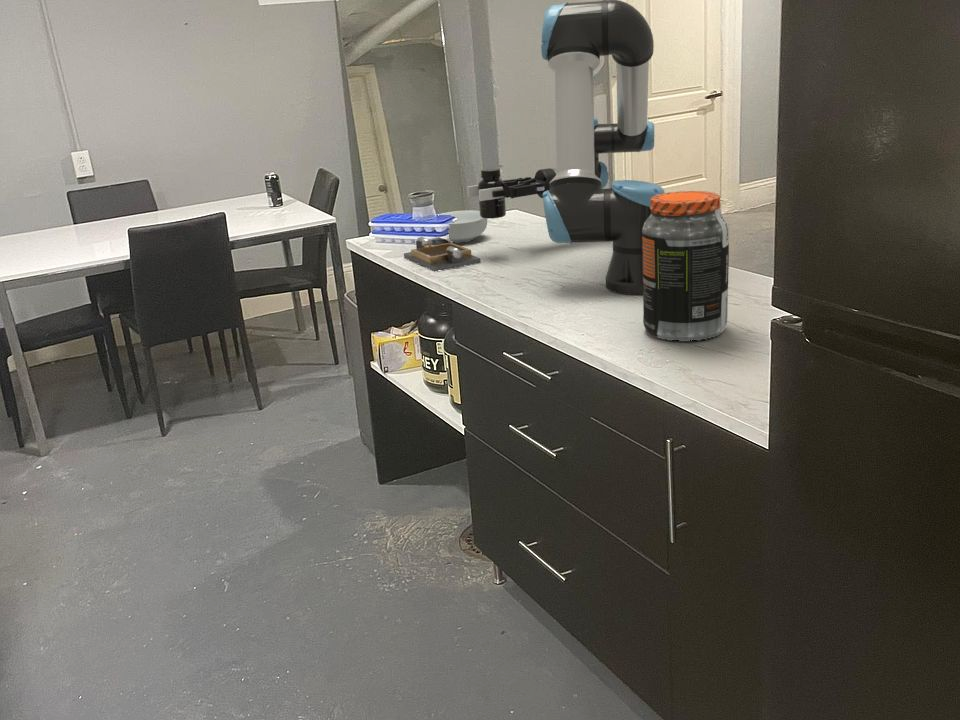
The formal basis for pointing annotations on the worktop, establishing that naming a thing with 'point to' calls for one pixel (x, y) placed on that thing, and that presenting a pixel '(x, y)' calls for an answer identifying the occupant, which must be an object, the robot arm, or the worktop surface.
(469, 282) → the worktop surface
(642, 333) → the worktop surface
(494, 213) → the supplement bottle
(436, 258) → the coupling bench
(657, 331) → the supplement tub
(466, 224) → the cereal bowl
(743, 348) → the worktop surface
